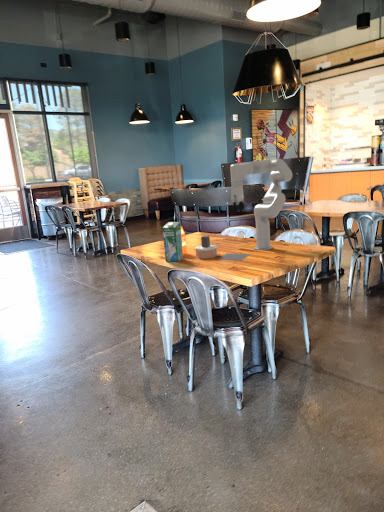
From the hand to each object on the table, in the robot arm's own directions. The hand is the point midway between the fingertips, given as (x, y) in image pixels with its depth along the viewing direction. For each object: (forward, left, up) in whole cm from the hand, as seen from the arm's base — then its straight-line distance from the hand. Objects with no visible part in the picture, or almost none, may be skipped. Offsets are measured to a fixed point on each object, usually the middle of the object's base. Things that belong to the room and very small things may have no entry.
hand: (238, 210), depth 250 cm
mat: (+8, -2, -30) cm, 31 cm away
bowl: (+10, -21, -30) cm, 38 cm away
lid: (+10, -21, -24) cm, 33 cm away
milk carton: (+22, -39, -30) cm, 54 cm away
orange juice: (+5, -46, -30) cm, 55 cm away
